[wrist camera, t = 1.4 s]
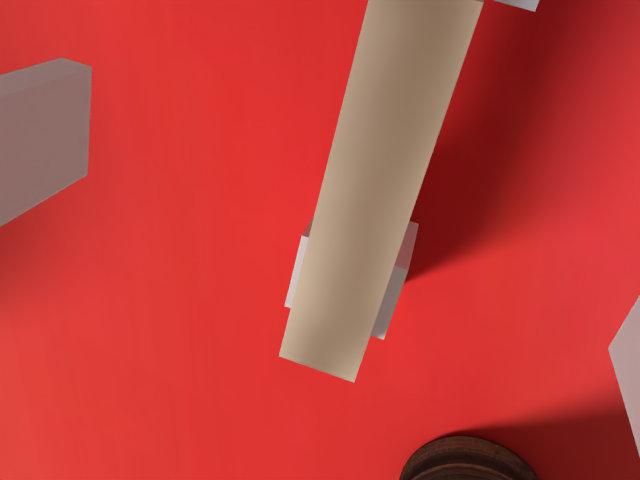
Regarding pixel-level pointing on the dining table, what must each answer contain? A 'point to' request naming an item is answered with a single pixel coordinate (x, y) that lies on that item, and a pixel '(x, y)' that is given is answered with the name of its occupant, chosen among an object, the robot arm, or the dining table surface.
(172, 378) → the dining table surface
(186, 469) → the dining table surface
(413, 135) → the beige tapered bar
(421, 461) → the container
